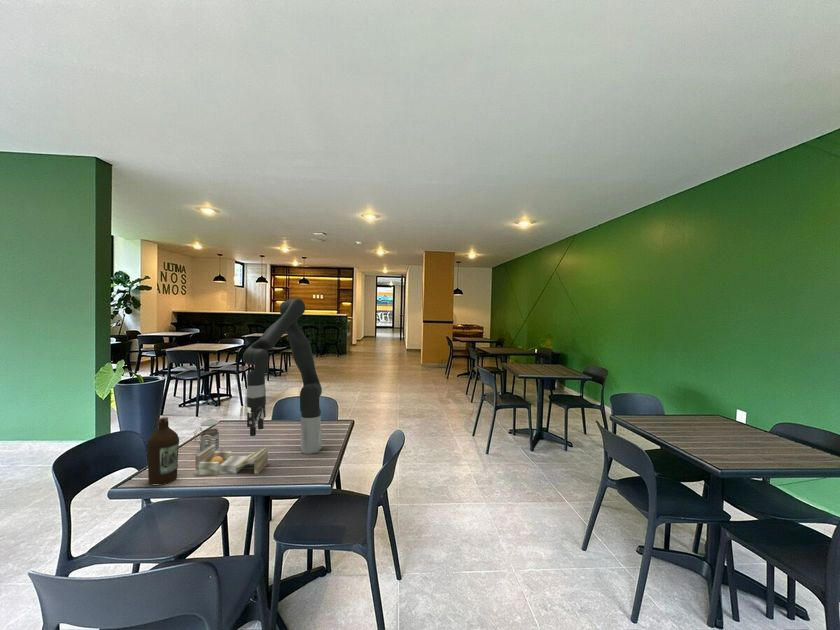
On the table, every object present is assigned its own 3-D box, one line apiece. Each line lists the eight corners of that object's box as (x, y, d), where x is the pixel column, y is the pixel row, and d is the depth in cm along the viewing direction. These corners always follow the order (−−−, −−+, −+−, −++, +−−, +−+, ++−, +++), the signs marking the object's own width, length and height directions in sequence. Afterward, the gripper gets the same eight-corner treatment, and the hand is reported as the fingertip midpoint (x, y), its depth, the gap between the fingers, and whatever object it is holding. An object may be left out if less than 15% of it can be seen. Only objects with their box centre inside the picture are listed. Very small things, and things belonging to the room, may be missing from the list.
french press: (224, 450, 177) (224, 399, 177) (197, 457, 169) (197, 404, 168) (217, 445, 184) (217, 396, 183) (190, 452, 175) (191, 400, 175)
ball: (227, 459, 160) (220, 467, 160) (219, 452, 160) (211, 460, 160) (222, 464, 155) (214, 473, 155) (213, 456, 155) (205, 465, 155)
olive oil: (140, 483, 144) (140, 420, 143) (168, 472, 153) (168, 413, 153) (157, 488, 139) (157, 423, 139) (184, 477, 149) (185, 416, 149)
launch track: (268, 462, 164) (269, 445, 164) (257, 475, 152) (257, 456, 152) (211, 462, 164) (212, 444, 163) (195, 475, 151) (195, 455, 151)
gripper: (253, 391, 164) (254, 427, 164) (240, 399, 149) (240, 438, 150) (271, 391, 164) (271, 426, 164) (258, 398, 150) (259, 437, 150)
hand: (256, 432), depth 157 cm, fingers open, 8 cm apart
